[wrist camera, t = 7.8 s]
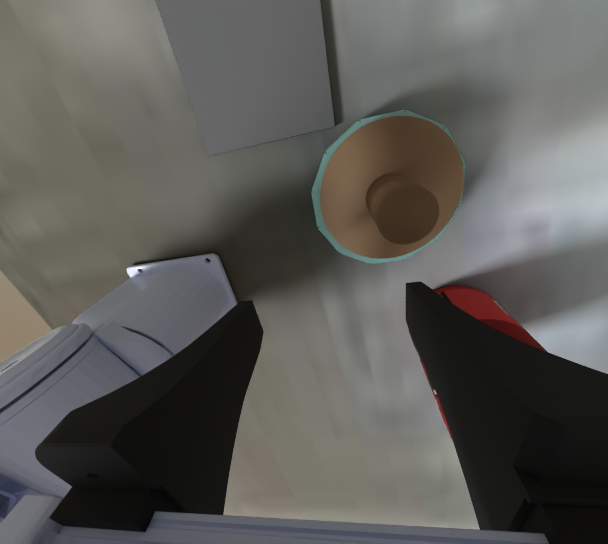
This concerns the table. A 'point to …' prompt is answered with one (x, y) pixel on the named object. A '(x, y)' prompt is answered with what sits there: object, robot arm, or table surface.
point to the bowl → (319, 177)
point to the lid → (391, 187)
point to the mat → (251, 68)
